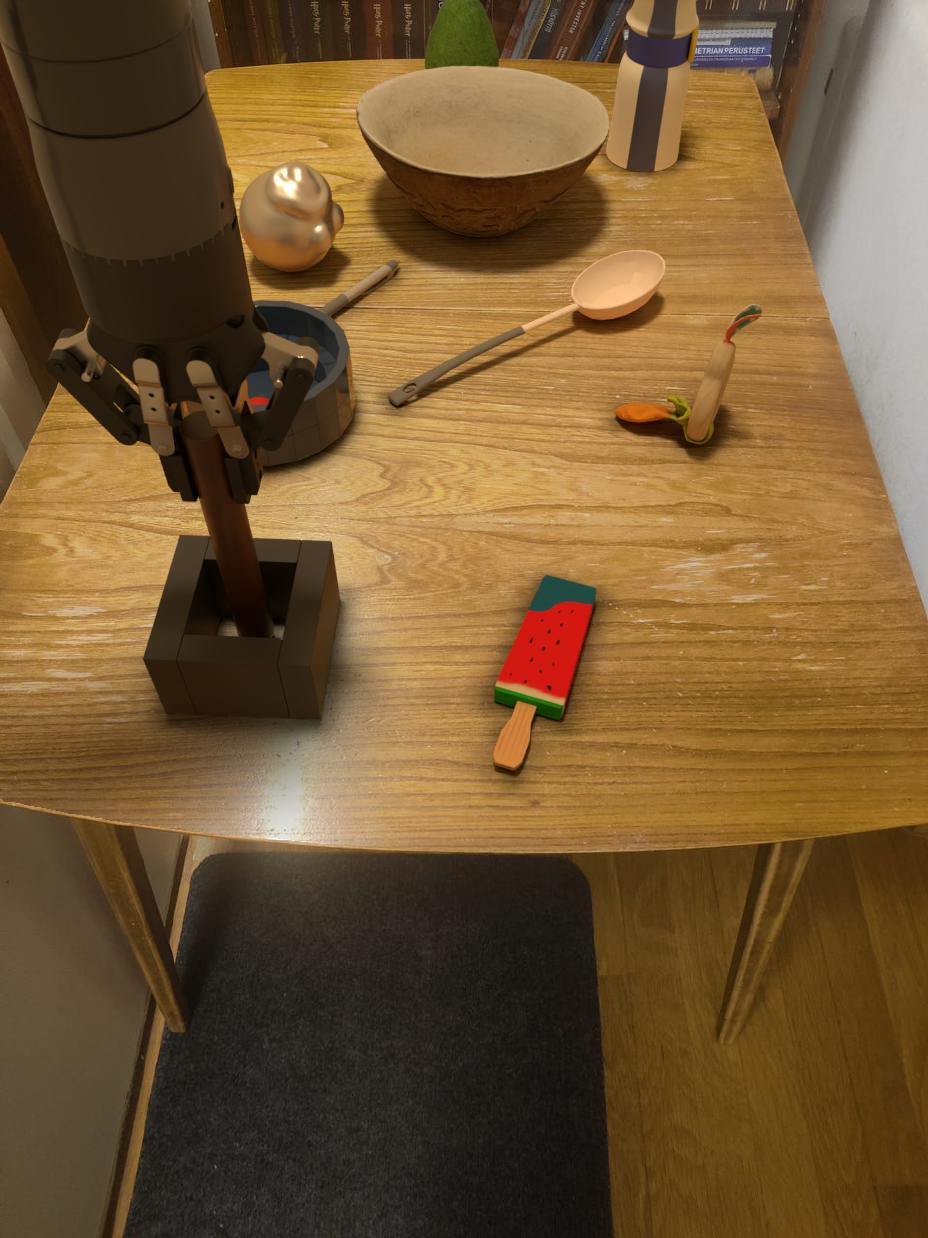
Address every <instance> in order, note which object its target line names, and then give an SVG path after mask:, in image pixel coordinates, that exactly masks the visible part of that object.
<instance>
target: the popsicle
mask: <svg viewBox="0 0 928 1238" xmlns="http://www.w3.org/2000/svg"><path fill="white" fill-rule="evenodd" d="M596 596H597V588H596V587H595V586H592V585H591V586H590V585H587V584H583V583H579V582H576V581H572V580H569V579H564V578H561V577H556V576H553V575H549V574H546V575H544V576H543V577H542V579H541V582H540V583H539V586H538V588H537V590H536V593H535V594H534V597H533V599H532V601H531V603H530V606H529V608H528V610H527V612H526V615H525V617H524V619H523V621H522V624H521V626H520V629H519V631H518V632H517V635H516V637H515V639H514V642H513V643H512V645H511V648H510V651H509V652H508V655H507V657H506V659H505V662H504V663H503V666H502V668H501V671H500V672H499V675H498V677H497V679H496V682H495V684H494V691H493V692H494V696H493V701H494V702H495V703H499V704H502V705H505V706H509V707H513V708H514V709H513V712H512V715H511V717H510V718H509V720H508V721H507V723H506V724H505V725H504V726H503V728H502V729H501V730H500V733H499V736H498V739H497V741H496V744H495V747H494V749H493V753H492V759H493V764H494V765H495V766H496V767H497V766H498V767H500V768H503V769H507V770H511V771H516V770H517V769H518V768H519V767H521V766H522V765H523V762H524V759H525V756H526V754H527V751H528V748H529V745H530V741H531V727H532V722H533V720H534V717H535V715H540V716H544V717H547V718H550V719H554V720H556V721H559V720H561V719H562V717H563V715H564V711H565V708H566V704H567V701H568V698H569V695H570V690H571V687H572V683H573V680H574V677H575V673H576V671H577V670H576V669H577V667H578V663H579V660H580V656H581V653H582V648H583V645H584V641H585V638H586V635H587V632H588V628H589V625H590V621H591V618H592V614H593V610H594V607H595V602H596Z"/></svg>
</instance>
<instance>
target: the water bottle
mask: <svg viewBox="0 0 928 1238" xmlns="http://www.w3.org/2000/svg"><path fill="white" fill-rule="evenodd" d="M696 2H698V0H634V1H633V4H632V6H631V8H630V9H629V10H628V11H627V12H626V15H625V20H626V22H627V24H628V25H629V26H628V34H627V41H626V49H625V52H624V53H623V55H622V58H621V61H620V63H619V70H618V74H617V81H616V86H615V87H616V88H615V95H614V102H613V108H612V115H611V121H610V125H609V133H608V136H607V142H606V149H605V155H606V157H607V158H608V160H609V161H610V162H611V163H613V164H614V165H616V166H617V167H620V168H622V169H624V170H628V171H633V172H640V173H653V172H661V171H663V170H666V169H669V168H670V167H672V166H674V164H675V163H676V162H677V160H678V158H679V151H680V143H681V142H680V141H681V136H682V128H683V120H684V115H685V107H686V101H687V97H688V89H689V84H690V78H691V77H690V76H691V63H693V61H694V60H695V55H696V51H697V45H698V37H699V30H700V19H699V16H698V14H697V3H696Z"/></svg>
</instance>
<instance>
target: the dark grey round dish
mask: <svg viewBox="0 0 928 1238" xmlns="http://www.w3.org/2000/svg"><path fill="white" fill-rule="evenodd" d="M253 302H254V305H255V306H256V308H257V310H258V311H259V312H260V314H261V315H262V316H263V317H264V319H265V320H266V322H267V325H268V328H269V332H270V333H272V334H275V335H277V336H279V337H282V338H284V339H286V340H289V341H291V342H293V343H296V342H297V340H298V339H300V338H301V337H311V338H313V339H315V340H316V341H317V342H318V343H319V345H320V351H319V356H318V361H317V366H316V371H315V375H314V379H313V383H312V385H311V387H310V389H309V391H308V393H307V395H306V397H305V399H304V401H303V403H302V405H301V407H300V409H299V411H298V413H297V415H296V417H295V419H294V421H293V423H292V425H291V427H290V429H289V431H288V433H287V435H286V437H285V439H284V441H283V443H282V445H281V446H280V448H279V449H278V450H276V451H267V450H265V449H263V448H259V452H260V457H261V462H262V467H271V466H277V465H283V464H288V463H294V462H299V461H301V460H303V459H306V458H308V457H310V456H313V455H315V454H317V453H320V452H322V451H323V450H324V449H326V448H327V447H328V446H330V445H331V444H332V443H334V442H335V441H336V440H338V439H339V438H340V437H341V436H342V435H343V433H344V432H345V430H346V429H347V427H348V426H349V424H350V423H351V421H352V419H353V416H354V410H355V404H356V396H355V388H354V377H353V376H354V375H353V369H352V358H351V348H350V345H349V341H348V338H347V335H346V332H345V330H344V329H343V328H342V327H341V326H340V325H339V324H338V322H337V321H335V320H334V318H333V317H331V316H328V315H326V314H324V313H322V312H321V311H319V309H316V308H315V307H314V306H313V307H312V306H310V305H307V304H303V303H298V302H294V301H290V300H270V299H259V300H253ZM246 380H247V385H248V397H249V399H251V398H254V397H263V398H266V399H268V400H270V398H271V395H272V393H273V391H274V389H275V387H274V384H273V383H274V382H273V381H272V380H271V379H270V377H269V365H268V363H267V362H266V361H265V360H264V359H263V358H260V359H259V361H258V362H257V363H256V365H255V366H254V368H253V369H252V370H251V372H250V373H249V375H248V376H247V378H246ZM266 406H267V404H264V405H252V408H253V411H254V413H256V412H259V411H263V410H265V409H266ZM183 409H184V417H186V416H187V415H189V414H190V413H193V412H196V411H200V410H205V409H204V406H203V404H200V403H196V402H192V401H184V402H183Z"/></svg>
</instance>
